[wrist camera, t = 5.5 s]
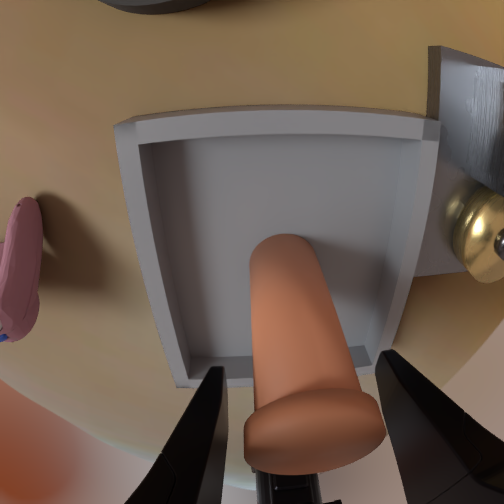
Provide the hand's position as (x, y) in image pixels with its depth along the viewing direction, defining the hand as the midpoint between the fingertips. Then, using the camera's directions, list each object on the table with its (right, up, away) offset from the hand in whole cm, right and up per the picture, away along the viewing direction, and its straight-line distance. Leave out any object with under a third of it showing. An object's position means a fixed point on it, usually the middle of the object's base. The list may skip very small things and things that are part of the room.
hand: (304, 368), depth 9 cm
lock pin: (0, +3, +5) cm, 6 cm away
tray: (0, +3, +6) cm, 6 cm away
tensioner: (+11, +8, +3) cm, 14 cm away
